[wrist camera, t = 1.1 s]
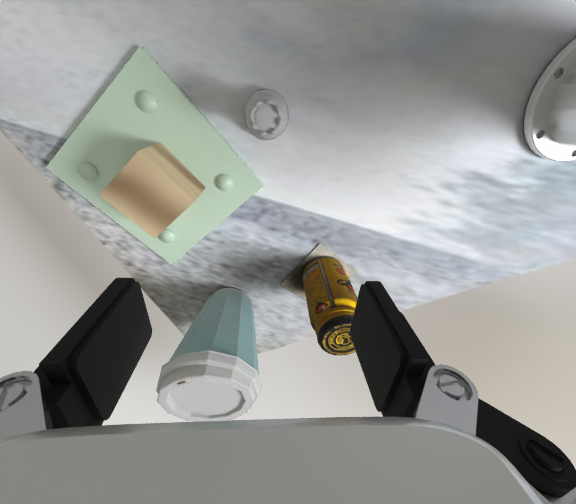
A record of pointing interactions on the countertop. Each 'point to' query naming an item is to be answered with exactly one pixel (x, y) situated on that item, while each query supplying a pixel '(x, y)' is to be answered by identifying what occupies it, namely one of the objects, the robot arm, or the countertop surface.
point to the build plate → (147, 132)
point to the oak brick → (153, 189)
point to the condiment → (326, 298)
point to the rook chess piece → (266, 114)
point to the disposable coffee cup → (214, 363)
